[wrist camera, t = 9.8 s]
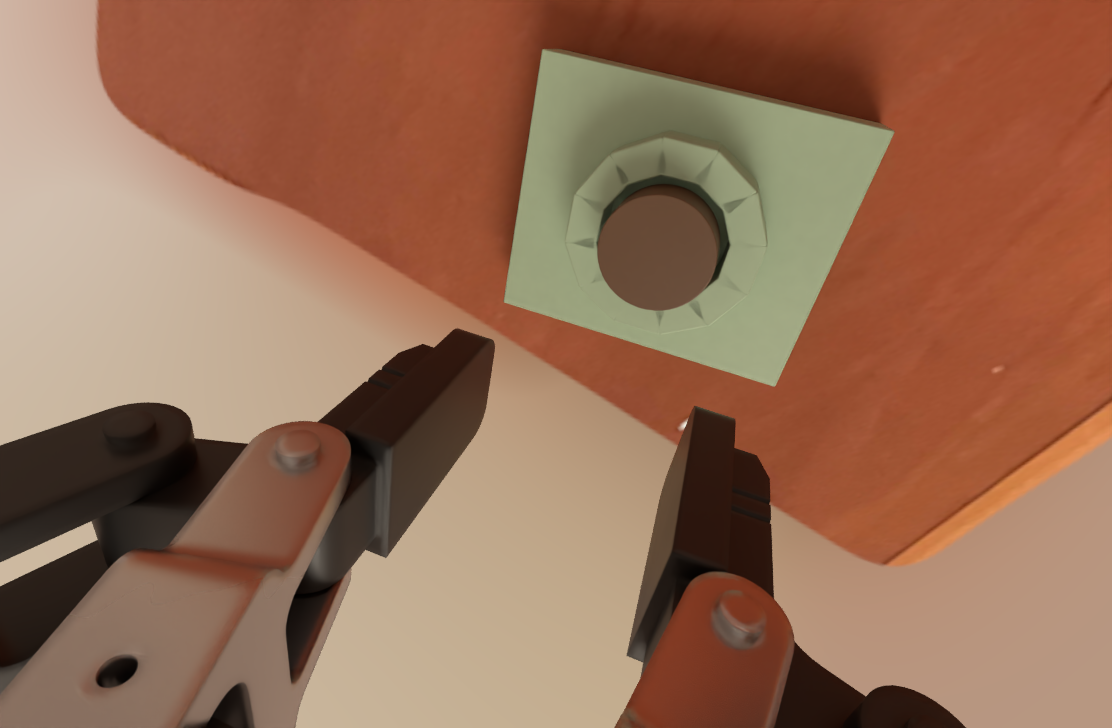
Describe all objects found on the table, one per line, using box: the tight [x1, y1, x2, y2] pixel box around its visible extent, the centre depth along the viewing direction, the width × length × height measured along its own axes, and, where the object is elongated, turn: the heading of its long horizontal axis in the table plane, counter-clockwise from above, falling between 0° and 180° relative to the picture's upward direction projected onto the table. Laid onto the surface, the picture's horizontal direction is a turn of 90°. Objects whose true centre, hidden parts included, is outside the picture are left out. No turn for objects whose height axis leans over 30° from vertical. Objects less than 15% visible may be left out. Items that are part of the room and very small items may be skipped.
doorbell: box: [504, 49, 894, 386], centre depth 22 cm, size 12×10×4 cm
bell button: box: [597, 184, 720, 311], centre depth 20 cm, size 4×4×2 cm
